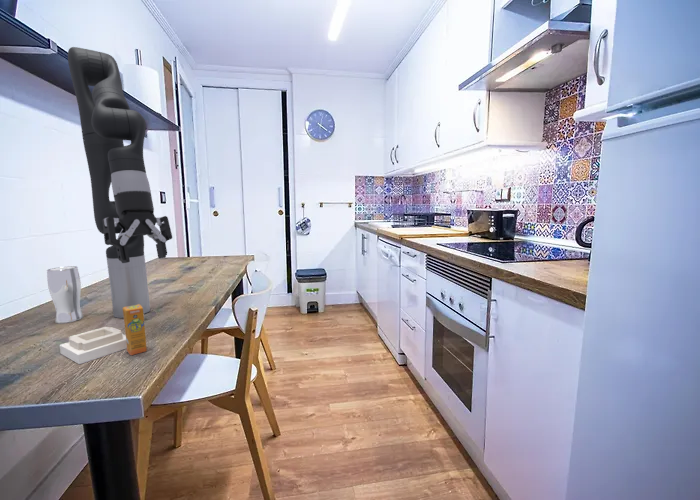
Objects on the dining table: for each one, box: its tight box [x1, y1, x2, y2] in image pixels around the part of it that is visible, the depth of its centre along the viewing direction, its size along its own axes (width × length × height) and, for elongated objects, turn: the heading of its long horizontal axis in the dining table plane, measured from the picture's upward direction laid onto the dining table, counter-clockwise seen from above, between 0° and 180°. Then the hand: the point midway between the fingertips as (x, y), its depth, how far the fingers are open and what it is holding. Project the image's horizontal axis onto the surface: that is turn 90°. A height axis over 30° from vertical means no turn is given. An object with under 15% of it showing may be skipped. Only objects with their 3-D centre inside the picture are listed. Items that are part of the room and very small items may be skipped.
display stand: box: [59, 326, 127, 365], centre depth 73 cm, size 10×10×4 cm
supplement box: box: [123, 304, 148, 356], centre depth 71 cm, size 3×3×10 cm
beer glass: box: [46, 265, 84, 325], centre depth 93 cm, size 7×7×15 cm
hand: (144, 260), depth 79 cm, fingers open, 8 cm apart
